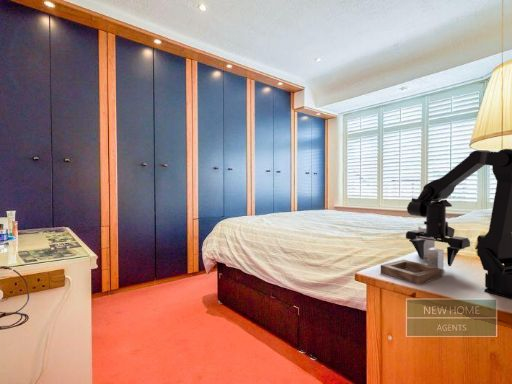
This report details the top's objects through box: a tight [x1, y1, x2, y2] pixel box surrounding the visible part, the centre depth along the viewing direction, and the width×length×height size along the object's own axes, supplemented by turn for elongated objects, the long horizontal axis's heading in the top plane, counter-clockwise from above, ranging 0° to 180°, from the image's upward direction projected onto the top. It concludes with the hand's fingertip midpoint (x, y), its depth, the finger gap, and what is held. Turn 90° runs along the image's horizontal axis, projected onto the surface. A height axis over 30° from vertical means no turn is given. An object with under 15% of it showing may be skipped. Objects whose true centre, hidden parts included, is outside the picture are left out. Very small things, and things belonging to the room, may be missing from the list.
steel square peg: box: [426, 247, 445, 271], centre depth 96 cm, size 4×4×7 cm
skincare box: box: [417, 225, 436, 259], centre depth 113 cm, size 6×4×12 cm
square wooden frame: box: [380, 259, 443, 285], centre depth 91 cm, size 13×13×2 cm
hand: (435, 262), depth 96 cm, fingers open, 9 cm apart
